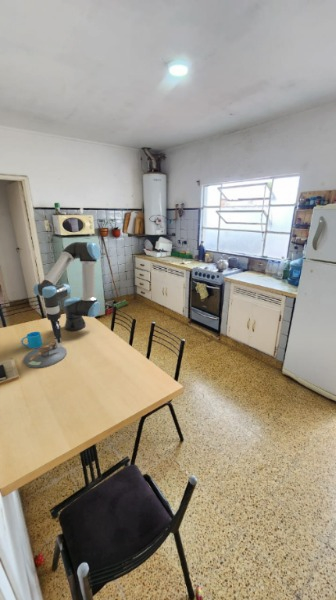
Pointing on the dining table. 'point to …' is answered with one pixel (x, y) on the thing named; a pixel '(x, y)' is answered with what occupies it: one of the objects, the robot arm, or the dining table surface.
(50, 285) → the robot arm
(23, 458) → the dining table surface
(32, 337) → the mug
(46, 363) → the dial plate
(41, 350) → the dial arm
